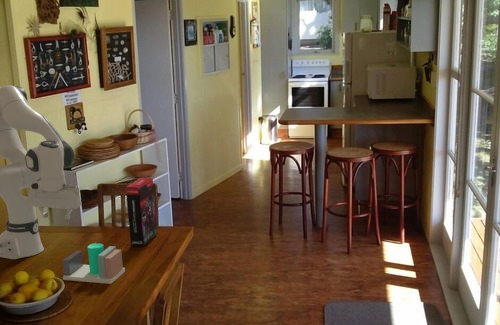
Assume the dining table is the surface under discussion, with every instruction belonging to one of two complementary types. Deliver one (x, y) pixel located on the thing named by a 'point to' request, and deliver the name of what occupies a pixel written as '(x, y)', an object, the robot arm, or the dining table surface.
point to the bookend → (72, 262)
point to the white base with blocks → (101, 268)
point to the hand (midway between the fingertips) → (56, 218)
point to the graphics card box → (141, 211)
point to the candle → (94, 257)
